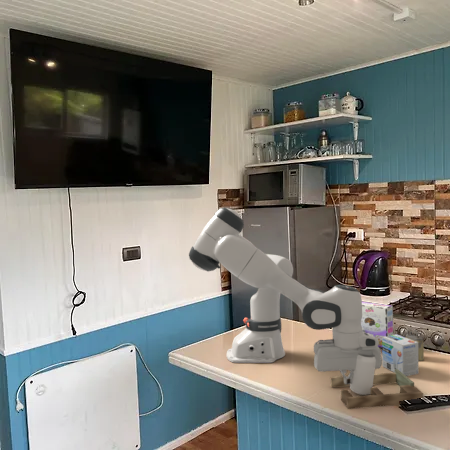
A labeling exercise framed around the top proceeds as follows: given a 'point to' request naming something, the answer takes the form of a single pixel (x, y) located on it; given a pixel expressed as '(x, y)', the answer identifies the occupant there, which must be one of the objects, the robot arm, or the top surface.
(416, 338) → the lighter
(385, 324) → the candy box
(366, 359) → the can
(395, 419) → the top surface
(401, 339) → the light bulb box
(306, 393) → the top surface
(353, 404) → the trap box
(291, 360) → the top surface
